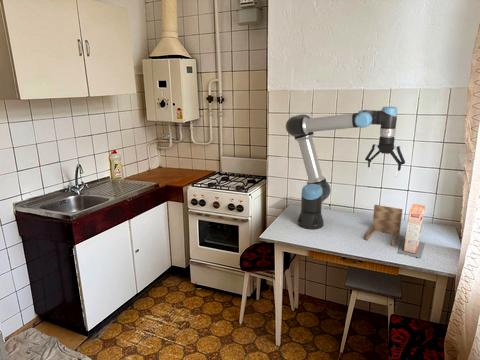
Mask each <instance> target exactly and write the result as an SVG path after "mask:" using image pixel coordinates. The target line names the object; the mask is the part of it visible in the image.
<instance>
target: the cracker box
mask: <svg viewBox="0 0 480 360" xmlns="http://www.w3.org/2000/svg"><path fill="white" fill-rule="evenodd" d="M425 208H426V206H425V205H422V204H415V203H412V205H411V207H410V210H409V212H408V215H407V216H408V217H407V225H406V231H405V238H404V239H405V245H404V251H405V252H410V253H414V254H416V252H417V249H418V245H419V242H421V241H420V240H421V235H422V229H423V228H422V227H423V222H424V215H425Z"/></svg>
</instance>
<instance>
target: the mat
mask: <svg viewBox="0 0 480 360" xmlns="http://www.w3.org/2000/svg"><path fill="white" fill-rule="evenodd" d="M425 244H426V243H425V242H421V241H419V245H418V249H417V252H416V254H414V253H410V252H405V251H404V245H405V238H403V240H402V242H401V244H400V246H399V248H398V252H397V254H400V255H403V254H404V255H403V256H407V255H408V257H413V258H416V257H417V259H421V258H422V255H423V251H424V248H425Z"/></svg>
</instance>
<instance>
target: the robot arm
mask: <svg viewBox="0 0 480 360" xmlns="http://www.w3.org/2000/svg"><path fill="white" fill-rule="evenodd" d="M397 119H398V108H397V106H383V107H382V108H381V110H374V109H373V110H371V109H361V110H359V111H358V112H353V113H345V114H338V115H337V114H335V115H328V116H320V117H311V116H310V115H307V114H297V115H295V116H291V117H289V118H288V119H287V121H286V123H285V129H286V132H287V133H288V134H289V135H290V136H292V137H294V140H295V141H296V142H297V143H298V147H299V148H300V149H299V150H300V153H301V157H302V161H303V164H304V168H305V172H306V176H307V181H306V184H305V185H303V187H302V188H301V193H300V195H301V198H300V199H301V202H300V203H301V204H300V207H301V208H300V213H299V216H298V219H297V225H298V226H299V227H300V228H303V229H306V230H318V229H321V228H323V227H324V223H325V222H324V218H323V215H322V205H323V202H324V201H325V200H326V199H328V198H329V197H330V194H331V191H332V189H331V185H330V183H329V182H327V178H326V177H325V176H323V174H322V169H321V167H320V162H319V158H318V155H317V151H316V147H315V143H314V140H313V137H314V135H315V134H314V133H315V132H324V131H325V132H326V131H336V130H346V129H354V128H355V129H357V128H362V129H364V128H368V127H369V126H371V125H376V126H377V125H378V126H380V128H379V130H380V131H379V137H378V138H379V139H378V144H376V143H374V144H372V145H371V149H370V151H369V152H368V154H367V155H366V157H365V159H364V161H367V168H369V171H368V174H370V175H371V174H372V173H373V172H372V171H373V164H374V163H373V160H374V159H375V158H376V157H377V156H378V155H379V154H380V153H381V154H383V155H384V154H386V155H391V157H392V158H393V159H394V161H395V162H396V163H397V164H396V165H395V166H396V169H395V176H394V177H398V176H399V172H400V171H401V168H402V165H405V164H406V161H405V158H404V156H403V154H402V151H401V146H400V145H397V146H396V145H395V138H396V137H395V136H396V129H397V128H396V127H397ZM377 148H378V151H376V153H375V154H373V152H374V151H375V149H377ZM394 150H395V151H396V153H397V154H398V156H397V155H396V153H395V152H394ZM372 154H373V155H372ZM371 155H372V156H371ZM398 157H399V158H398Z"/></svg>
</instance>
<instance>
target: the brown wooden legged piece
mask: <svg viewBox="0 0 480 360" xmlns="http://www.w3.org/2000/svg"><path fill="white" fill-rule="evenodd" d="M402 217H403V208H397V207H391V206H386V205H379V204H374V206H373V216H372V225H371V226H370V228H369V230H368V231H367V232H366V234H365V241H369V239H370V238H371V236H372V235H373V234H374V232H378V233H379V232H380V233H385V234H389V235H393V238H392V239H391V246H392V247H395V245H396V243H397V240H398V238H399V236H400V235H401V226H402Z"/></svg>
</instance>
